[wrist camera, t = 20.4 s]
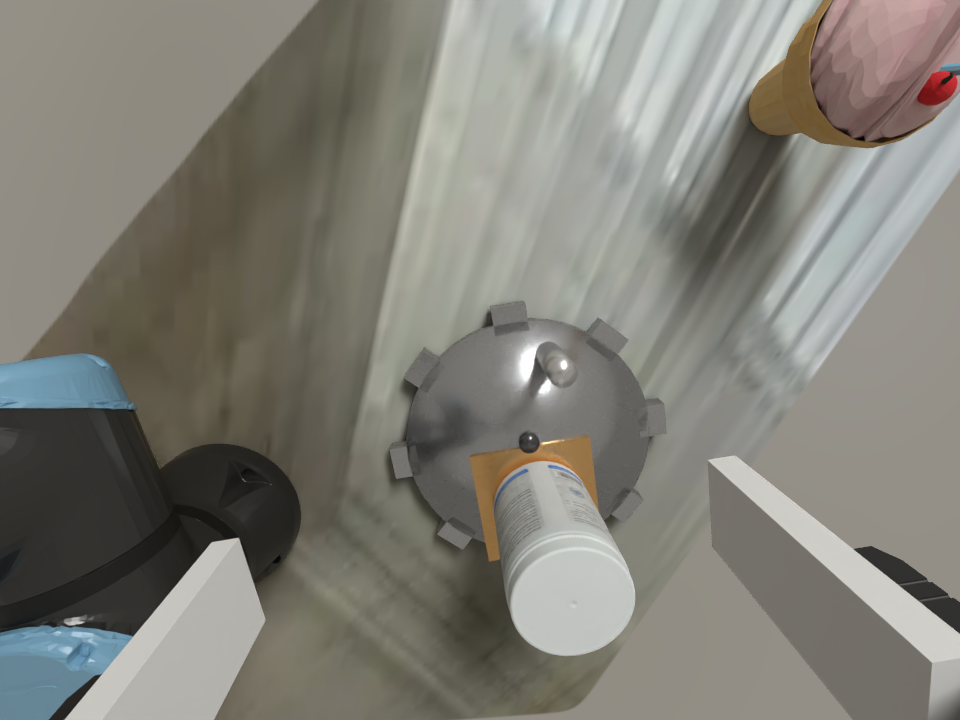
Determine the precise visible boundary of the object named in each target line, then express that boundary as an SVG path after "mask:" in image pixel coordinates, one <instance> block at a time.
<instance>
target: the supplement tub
mask: <svg viewBox="0 0 960 720" xmlns="http://www.w3.org/2000/svg"><path fill="white" fill-rule="evenodd" d="M493 510H494V519H495V526H496V533H497V540H498V547H499V555H500V562H501V569H502V575H503V582H504V589H505V595H506V600H507V604H508V607H509V610H510V614H511V618H512V621H513V623H514V626H515V628H516V629H517V631H518V632H519V634H520V635H521V636H522V637H523V638H524V639H525V640H526V641H527V642H528V643H529V644H530V645H532V646H533V647H535V648H537V649H539V650H541V651H544V652H546V653H550V654H554V655H560V656H575V655H582V654H586V653H590V652H592V651H595V650H598V649H600V648H602V647H604V646H605V645H607V644H608V643H610V642H611V641H612V640H614V639H615V638H616V637H617V636H618V635H619V634H620V633H621V632H622V631H623V629H624V628H625V627H626V625H627V624H628V622H629V620H630V618H631V616H632V613H633V610H634V605H635V589H634V584H633V581H632V579H631V576H630V573H629V570H628V567H627V565H626V563H625V561H624V559H623V557H622V555H621V553H620V551H619V549H618V547H617V545H616V543H615V542H614V540H613V538H612V536H611V534H610V532H609V530H608V528H607V527H606V525H605V523H604V521H603V519H602V517H601V515H600V514H599V512H598V510H597V508H596V506H595V504H594V502H593V501H592V499H591V497H590V495H589V493H588V491H587V489H586V488H585V486H584V484H583V482H582V481H581V479H580V478H579V477H578V476H577V475H576V474H575V473H574V472H573V471H572V470H571V469H569V468H567V467H566V466H564V465H561V464H558V463H555V462H550V461H537V462H532V463H528V464H525V465H523V466H521V467H519V468H517V469H515V470H514V471H512V472H511V473H510V474H509V475H508V476H507V477H506V478H505V479H504V480H503V481H502V483H501V484H500V486H499V488H498V489H497V492H496V495H495V499H494V506H493Z"/></svg>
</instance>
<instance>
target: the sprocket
mask: <svg viewBox="0 0 960 720" xmlns="http://www.w3.org/2000/svg"><path fill="white" fill-rule="evenodd" d="M490 311H491V317H492V323H493V324H492V325H489V326H485V327H483V328H480V329H478V330H476V331H474V332H472V333H470V334H468V335H466V336H465V337H463V338H462V339H460V340H459V341H457V342H456V343H454V344H453V345H452V346H451V347H450V348H448V349H447V350H446V351H445V352H444V353H443V354H442V355H441V356H440V357H438V356H436V355H435V354H433V353H432V352H430V351H429V350H427V349H426V348H423V350H422V351H421V353H420V354H419V356H418V357H417V358H416V360H415V361H414V363H413V364H412V366H411V367H410V368H409V370H408V371H407V373H406V374H405V377H404V379H406V380H407V381H409V382H410V383H412V384H413V385H415V386H417V387H418V390H417V392H416V394H415V397H414V400H413V403H412V406H411V409H410V413H409V418H408V424H407V437H406V441H401V442H395V443H392V444H391V446H390V449H389V450H390V455H391V459H392V464H393V468H394V472H395V477H396V479H399V478H405V477H411V476H413V477H414V479H415V482H416V484H417V486H418V488H419V490H420V492H421V493H422V495H423V497H424V498H425V500H426V501H427V502H428V504H429V505H430V506H431V507H432V509H433V510H434V511H435V512H436V513H437V514H438V515H439V516H440V517H441V518H442V519H443V520H442V521H441V522H440V524H439V525H438V531H437V535H439V536H440V537H442V538H444V539H445V540H447V541H449V542H450V543H452V544H454V545H455V546H457V547H459V548H460V549H462V550H463V549H464V548H465V546H466V545H467V544H468V543H469V541H470V540H471V539H472V538H474V539H476V540H479V541H481V542H485V543H486V548H487V553H488V559H489V562H490V561H496V560H500V555H499V547H498V540H497V533H496V526H495V519H494V510H493V506H494V499H495V495H496V492H497V489H498V488H499V486H500V484H501V483H502V481H503V480H504V479H505V478H506V477H507V476H508V475H509V474H510V473H511V472H512V471H514V470H515V469H517V468H519V467H521V466H523V465H525V464H528V463H532V462H537V461H550V462H555V463H558V464H561V465H564V466H566V467H567V468H569V469H571V470H572V471H573V472H574V473H575V474H576V475H577V476H578V477H579V478H580V479H581V481H582V482H583V484H584V486H585V488H586V489H587V491H588V493H589V495H590V497H591V499H592V501H593V502H594V504H595V506H596V508H597V510H598V512H599V514H600V515H601V517H602V519H603V521H604V520H605V519H607V518H608V517H609V516H610V515H613V516H614V517H616V518H617V519H619V520H620V521H622V522H623V523H624V522H625V521H626V520H627V519H628V518H629V516H630V515H631V514H632V513H633V512H634V511H635V510H636V508H637V507H638V506H639V505H640V504H641V503H642V501H643V498H642V497H641V495H640V494H639V492H637V491H636V490H634V489H633V487H634V486H635V484H636V482H637V480H638V478H639V476H640V473H641V471H642V469H643V466H644V462H645V459H646V456H647V450H648V444H649V436H654V435H660V434H666V421H665V408H664V403H663V402H662V401H661V400H659V399H658V398H655V399H649V400H645V398H644V395H643V393H642V391H641V388H640V386H639V383H638V382H637V380H636V378H635V377H634V375H633V373H632V372H631V370H630V369H629V367H628V366H627V365H626V364H625V363H624V361H623V360H622V359H621V358H620V357H619V356H618V355H617V354H618V353H619V352H620V350H621V349H622V348H623V347H624V345H625V344H626V343H627V342H628V339H627V338H625V337H624V336H623V335H621V334H620V333H619V332H617V331H616V330H615V329H613V328H612V327H611V326H609V325H608V324H606V323H605V322H604V321H602V320H601V319H599V318H597V320H596V321H595V322H594V324H593V325H592V326H591V328H590V329H589V330H588V331H587V332H585V331H583V330H581V329H579V328H577V327H574V326H571V325H568V324H566V323H563V322H558V321H553V320H548V319H535V318H527V312H526V305H525V302H524V301H518V302H512V303H507V304H501V305H495V306H490Z"/></svg>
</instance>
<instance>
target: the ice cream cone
mask: <svg viewBox="0 0 960 720" xmlns="http://www.w3.org/2000/svg"><path fill="white" fill-rule="evenodd" d="M959 92H960V0H823V1H822V2H821V4H820V6H819V7H818V9H817V11H816V12H815V14H814V15H813V16H812V17H811V18H810V19H808V20H807V21H806V22H805V23H804V24H803V25H802V27H801V28H800V30H799V32H798V33H797V35H796V37H795V38H794V40H793V41H792V43H791V45H790V46H789V49H788V53H787V56H786V59H784V60H783V61H782V62H780V63H779V64H778V65H776V66H775V67H774V68H773V69H772V70H771V71H769V72H768V73H767V74H766V75H765V76H764V77H763V78H762V79H761V80H759V82H758V83H757V85H756V87H755V88H754V90H753V92H752V95H751V98H750V102H749V116H750V119H751V122H752V123H753V124H754V125H755V126H756V128H758V129H759V130H761V131H763V132H765V133H766V134H768V135H777V136H779V135H791V134H797V133H803V134H805V135H807V136H809V137H810V138H812V139H814V140H816V141H818V142H820V143H824V144H832V145H841V146H850V147H860V148H874V147H877V146H881V145H885V144H889V143H893V142H897V141H900V140H902V139H904V138H906V137H908V136H910V135H912V134H913V133H915V132H916V131H918V130H919V129H921V128H923V127H924V126H926V125H927V124H929V123H931V122H932V121H933V120H934V119H935V118H936V117H937V116H938V115H939V114H940V113H941V111H942V110H943V109H944V108H946V107H947V106H948V105H949V104H950V103H951V101H952V100H953V99H954V98H955V97H956V96H957V95H958V93H959Z"/></svg>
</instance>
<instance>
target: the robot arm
mask: <svg viewBox="0 0 960 720" xmlns="http://www.w3.org/2000/svg"><path fill="white" fill-rule="evenodd" d="M136 410H137V407H136V405H135V404H134V403H132V402H130V401H129V399H128V396H127V394H126V392H125V390H124V388H123V386H122V384H121V382H120V380H119V378H118V376H117V374H116V372H115V370H114V368H113V367H112V366H111V365H110V364H109V363H108V362H107V361H106V360H104V359H102V358H100V357H98V356H95V355H90V354H70V355H62V356H55V357H48V358H41V359H34V360H27V361H20V362H14V363H7V364H1V365H0V720H214V719H215V717H216V715H217V713H218V711H219V709H220V707H221V705H222V703H223V701H224V699H225V697H226V696H227V694H228V692H229V690H230V688H231V686H232V684H233V682H234V680H235V678H236V676H237V674H238V672H239V670H240V669H241V667H242V665H243V663H244V661H245V659H246V657H247V655H248V653H249V651H250V649H251V647H252V645H253V643H254V642H255V640H256V638H257V636H258V634H259V632H260V630H261V628H262V626H263V624H264V622H265V617H264V614H263V611H262V608H261V604H260V601H259V598H258V595H257V592H256V589H255V586H254V585H255V584H256V583H257V582H259V581H260V580H261V579H263V578H264V577H265V576H267V575H268V574H269V573H271V572H272V571H273V570H274V569H275V568H276V567H277V566H278V565H279V564H280V563H281V562H282V561H283V559H284V558H285V557H286V555H287V553H288V552H289V550H290V548H291V546H292V545H293V543H294V541H295V539H296V537H297V534H298V531H299V527H300V520H301V511H300V504H299V500H298V497H297V494H296V491H295V489H294V487H293V485H292V484H291V482H290V480H289V479H288V478H287V476H286V475H285V474H284V473H283V471H282V470H281V469H280V468H279V467H277V466H276V465H275V464H274V463H273V462H272V461H270V460H269V459H267V458H266V457H264V456H262V455H261V454H259V453H257V452H254V451H252V450H250V449H247V448H244V447H240V446H235V445H229V444H209V445H203V446H199V447H195V448H192V449H190V450H187V451H185V452H183V453H181V454H180V455H178V456H177V457H175V458H174V459H173V460H171V461H170V462H169V463H167V464H166V465H165V466H164V467H162V468H161V469H160V470H159V468H158V465H157V463H156V460H155V458H154V455H153V453H152V451H151V448H150V446H149V443H148V441H147V439H146V436H145V434H144V431H143V429H142V426H141V424H140V422H139V419H138V417H137V414H136V412H135V411H136ZM708 478H709V496H710V515H711V533H712V547H713V548H714V549H715V550H716V552H717V553H718V554H719V555H720V557H721V558H722V559H723V560H724V562H725V563H726V564H727V565H728V567H729V568H730V569H731V570H732V572H733V573H734V574H735V575H736V576H737V578H738V579H739V580H740V581H741V583H742V584H743V585H744V586H745V588H746V589H747V590H748V591H749V592H750V594H751V595H752V596H753V597H754V599H755V600H756V601H757V602H758V604H759V605H760V606H761V607H762V609H763V610H764V611H765V612H766V613H767V615H768V616H769V617H770V618H771V620H772V621H773V622H774V623H775V625H776V626H777V627H778V628H779V629H780V631H781V632H782V633H783V634H784V636H785V637H786V638H787V639H788V641H789V642H790V643H791V644H792V645H793V647H794V648H795V649H796V650H797V652H798V653H799V654H800V655H801V656H802V658H803V659H804V660H805V661H806V663H807V664H808V665H809V666H810V668H811V669H812V670H813V671H814V672H815V674H816V675H817V676H818V678H819V679H820V680H821V681H822V682H823V684H824V685H825V686H826V687H827V689H828V690H829V691H830V692H831V694H832V695H833V696H834V697H835V698H836V700H837V701H838V702H839V703H840V705H841V706H842V707H843V708H844V709H845V711H846V712H847V713H848V715H849V716H850V717H851V718H852V719H853V720H960V602H959V601H957V600H956V599H954V598H950V597H949V596H948V593H946V592H945V591H943V590H942V589H941V588H939V587H938V586H937V585H935V584H934V583H933V582H928V580H927V578H926V577H924V576H923V575H922V574H920V573H918V572H917V571H916V570H915V569H913V568H912V567H911V566H909V565H908V564H906V563H905V562H904V561H902V560H900V559H898V558H896V557H894V556H892V555H889V554H887V553H885V552H883V551H881V550H878V549H876V548H874V547H872V546H869V547H863V548H857V549H852V548H851V547H850V546H848V545H847V544H846V543H845V542H843V541H842V540H841V539H840V538H838V537H837V536H836V535H835V534H833V533H832V532H831V531H829V530H828V529H827V528H826V527H824V526H823V525H822V524H820V523H819V522H818V521H817V520H816V519H814V518H813V517H812V516H811V515H809V514H808V513H807V512H805V511H804V510H803V509H802V508H801V507H799V506H798V505H797V504H795V503H794V502H793V501H792V500H791V499H789V498H788V497H787V496H785V495H784V494H783V493H782V492H780V491H779V490H778V489H777V488H775V487H774V486H773V485H772V484H770V483H769V482H768V481H767V480H765V479H764V478H763V477H762V476H760V475H759V474H758V473H757V472H755V471H754V470H753V469H751V468H750V467H749V466H748V465H746V464H745V463H744V462H743V461H741V460H740V459H739V458H738V457H736V456H729V457H723V458H717V459H711V460H708Z"/></svg>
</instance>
